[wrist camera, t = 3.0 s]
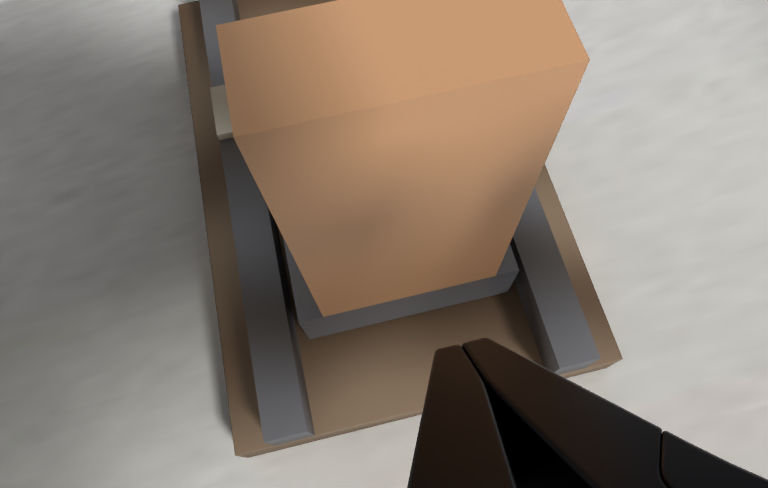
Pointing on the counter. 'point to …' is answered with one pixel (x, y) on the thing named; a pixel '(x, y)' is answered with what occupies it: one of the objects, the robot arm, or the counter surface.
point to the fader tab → (398, 143)
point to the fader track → (369, 343)
